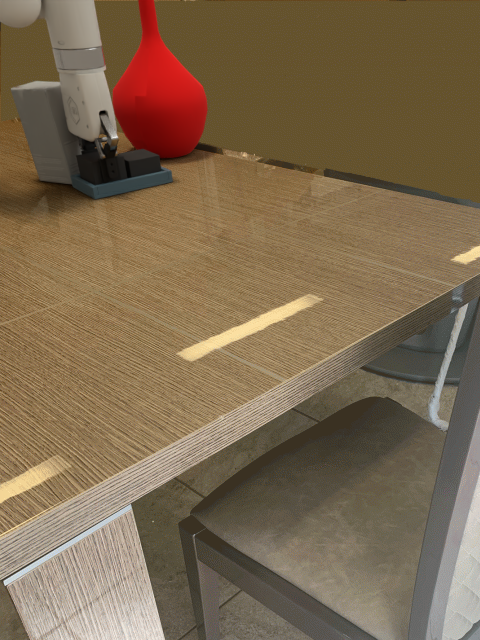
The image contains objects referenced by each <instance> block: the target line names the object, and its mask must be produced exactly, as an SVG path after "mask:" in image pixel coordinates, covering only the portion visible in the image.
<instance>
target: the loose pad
mask: <svg viewBox="0 0 480 640" xmlns="http://www.w3.org/2000/svg"><path fill="white" fill-rule="evenodd" d="M76 158H77V163H78V167H79V172H80V176H81V179H83V180H85V181H87V182H89V183H91V184H93V185H95V186H96V185H100V184H105V183H104V182H103V180H102V175H101V170H100V165H99V161H98V159H99V158H100V155H99V152H98V151H97V152H92V153H86V154H81V155H76ZM117 158H118V163H119V169H120V174H121V180H123V179H128V178H127V173H126V167H125V161H124V156H122V155H119V153H118V156H117Z"/></svg>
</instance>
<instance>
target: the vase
mask: <svg viewBox="0 0 480 640" xmlns="http://www.w3.org/2000/svg"><path fill="white" fill-rule="evenodd" d="M137 2H138V11H139V18H140V25H141V40H140V43H139V46H138V48H137V50H136V51H135V53H134V55H133V57H132V59H131V61H130V62H129V64H128V65H127V68H126V69H125V71H124V72H123V74H122V75H121V76H120V78H119V80H118V81H117V82H116V84H115V85H114V87H113V89H112V105H113V110H114V115H115V119H116V121H117V122H118V124H119V126H120V128H121V131H122V133H123V134H124V137H126V139H127V140H128V141H129V143H130V144H131V145H132V147H133V148H134V149H135V150H140V149H145V150H147V151H150V152H152V153H155V154H157V155H159V157H160V159H175V158H180V157H185V156H187V155H189V154H190V153H192V152H193V151H194V150H195V148H196V147H197V146H198V144H199V142H200V139H201V138H202V136H203V134H204V131H205V125H206V120H207V117H208V116H207V115H208V111H209V110H208V97H207V95H206V91H205V89H204V86H203V85H202V84H201V82H199V80H198V79H197V78H195V77H194V75H193V74H192V73H191V72H189V70H188V69H187V68H186V67H185V66H184V65H183V64H182V62H180V60H178V58H177V57H176V56H175V55H174V54H173V53H172V51H170V49H169V48H168V47H167V45H166V44H165V42H164V41H163V39H162V37H161V34H160V31H159V24H158V17H157V11H156V4H155V0H137Z"/></svg>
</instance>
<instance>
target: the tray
mask: <svg viewBox="0 0 480 640" xmlns="http://www.w3.org/2000/svg"><path fill="white" fill-rule="evenodd" d="M161 170H162V171H161V172H156V173H151V174H147V175H142V176H137V177H133V178H128V179H123V180H119V181H114V182H109V183H105V184H100V185H96V186H95V185H93V184H91V183H89V182H87V181H85V180H83V179H81V176H80V174H76V175H71V176H70V177H71V181H72V184H71V185H72V188H74V189H76V190H78V191H79V192H81V193H83V194H85V196H86V195H87V196H88V197H90V198H92V199H94V200H99V199H104V198H107V197H111V196H117V195H121V194H124V193H130V192H134V191H138V190H142V189H147V188H153V187H157V186H160V185H165V184H169V183H173V182H174V180H173V171H172V170H171V169H169V168H166V167H164V166H162V165H161Z"/></svg>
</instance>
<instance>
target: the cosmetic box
mask: <svg viewBox="0 0 480 640" xmlns="http://www.w3.org/2000/svg"><path fill="white" fill-rule="evenodd" d="M10 92H11V95H12V98H13V101H14V104H15V108H16V111H17V114H18V116H19V120H20V123H21V126H22V130H23V133H24V135H25V138H26V142H27V145H28V149H29V151H30V155H31V158H32V160H33V164H34V167H35V170H36V173H37V177H38V180H39V181H40V182H47V183H55V184H56V183H57V184H64V185H65V184H66V185H72V181H71V177H70V176H71V175H76V174H80V172H79V167H78V163H77V158H76V155H81V154H82V153H81V151H82V150H81V149H80V147H79V139H78V137H77V136H76V135H74V134H72V133H71V132H70V131H69V129H68V126H67V122H66V116H65V111H64V105H63V100H62V94H61V87H60V81H44V80H43V81H42V80H34V81H30V82H28V83H24V84H21V85H17V86H13V87H11V88H10Z"/></svg>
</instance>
